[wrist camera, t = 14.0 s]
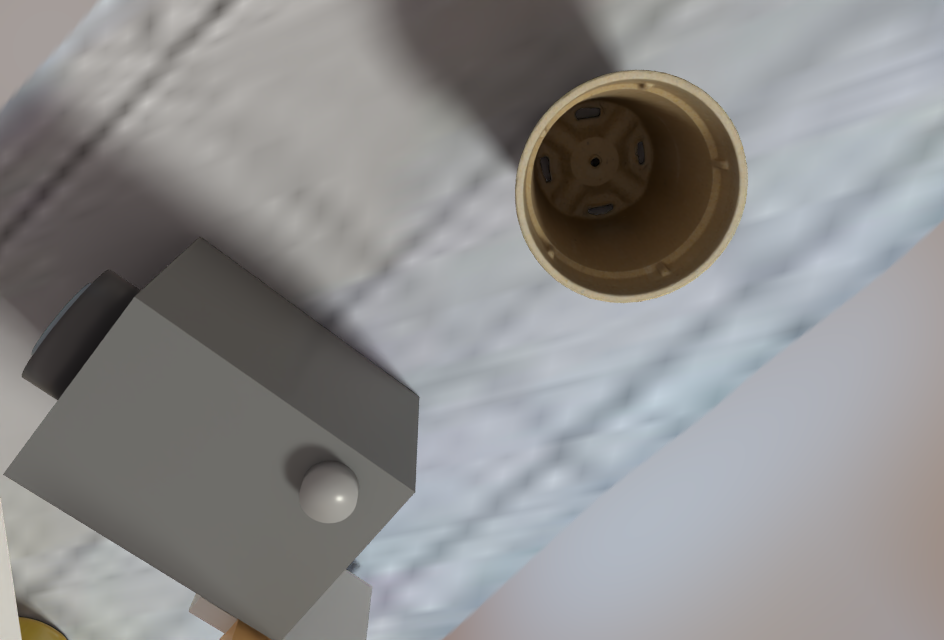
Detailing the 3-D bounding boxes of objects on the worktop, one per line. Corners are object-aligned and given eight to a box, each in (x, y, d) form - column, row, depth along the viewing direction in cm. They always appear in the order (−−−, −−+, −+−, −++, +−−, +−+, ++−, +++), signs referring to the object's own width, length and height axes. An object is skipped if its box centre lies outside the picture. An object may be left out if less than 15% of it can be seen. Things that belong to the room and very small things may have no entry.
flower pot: (628, 19, 41) (677, 19, 33) (722, 184, 44) (788, 222, 36) (463, 132, 42) (469, 159, 34) (564, 285, 45) (592, 344, 37)
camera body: (419, 397, 47) (414, 504, 36) (306, 526, 49) (272, 661, 39) (160, 208, 43) (72, 267, 33) (51, 358, 45) (-63, 458, 35)
